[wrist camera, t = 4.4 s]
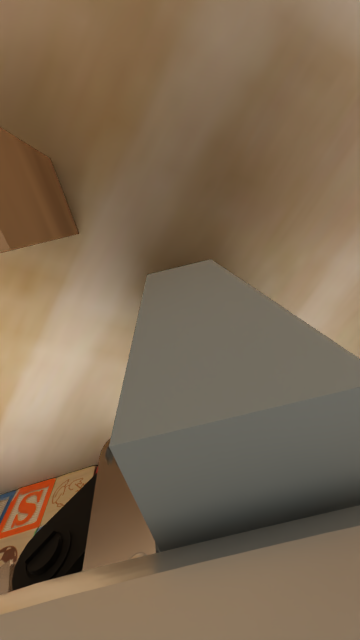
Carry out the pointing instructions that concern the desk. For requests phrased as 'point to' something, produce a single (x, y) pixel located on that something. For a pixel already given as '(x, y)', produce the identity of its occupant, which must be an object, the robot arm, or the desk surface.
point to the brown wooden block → (30, 197)
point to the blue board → (232, 411)
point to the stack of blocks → (35, 509)
